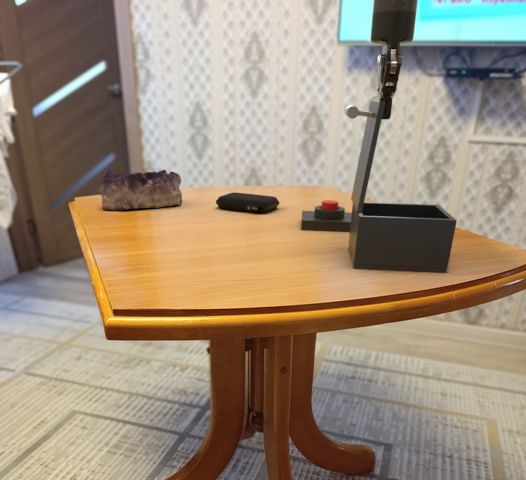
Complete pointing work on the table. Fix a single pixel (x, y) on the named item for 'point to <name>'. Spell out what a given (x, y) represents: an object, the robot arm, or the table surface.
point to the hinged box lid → (365, 149)
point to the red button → (330, 205)
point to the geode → (140, 190)
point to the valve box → (401, 237)
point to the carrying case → (247, 202)
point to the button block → (326, 220)
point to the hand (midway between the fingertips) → (383, 119)
